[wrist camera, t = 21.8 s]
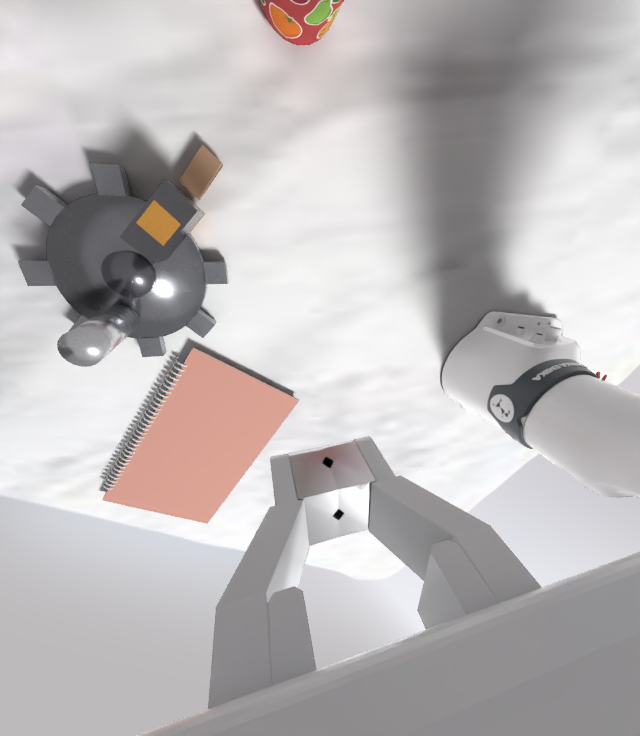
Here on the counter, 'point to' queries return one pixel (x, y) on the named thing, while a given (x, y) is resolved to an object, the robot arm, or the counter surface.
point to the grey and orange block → (162, 223)
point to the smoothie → (301, 18)
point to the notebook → (198, 439)
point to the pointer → (200, 172)
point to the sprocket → (116, 273)
